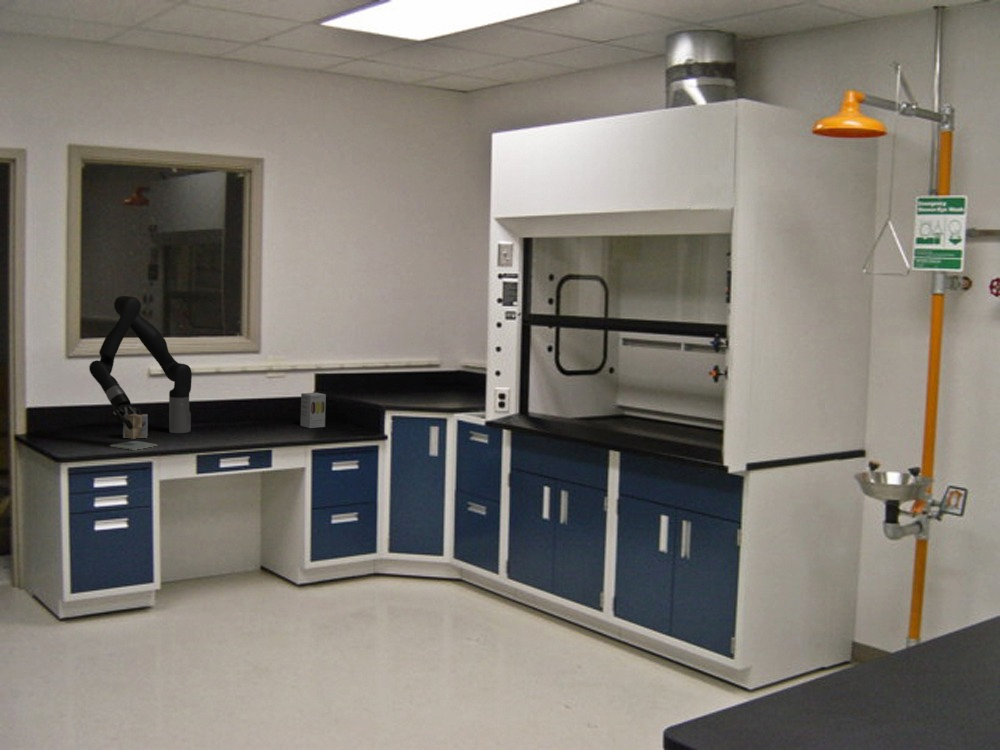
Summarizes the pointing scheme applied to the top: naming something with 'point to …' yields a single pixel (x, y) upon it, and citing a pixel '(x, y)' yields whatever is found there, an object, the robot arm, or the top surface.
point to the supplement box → (313, 410)
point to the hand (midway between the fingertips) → (136, 427)
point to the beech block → (134, 427)
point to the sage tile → (133, 445)
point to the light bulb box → (144, 428)
